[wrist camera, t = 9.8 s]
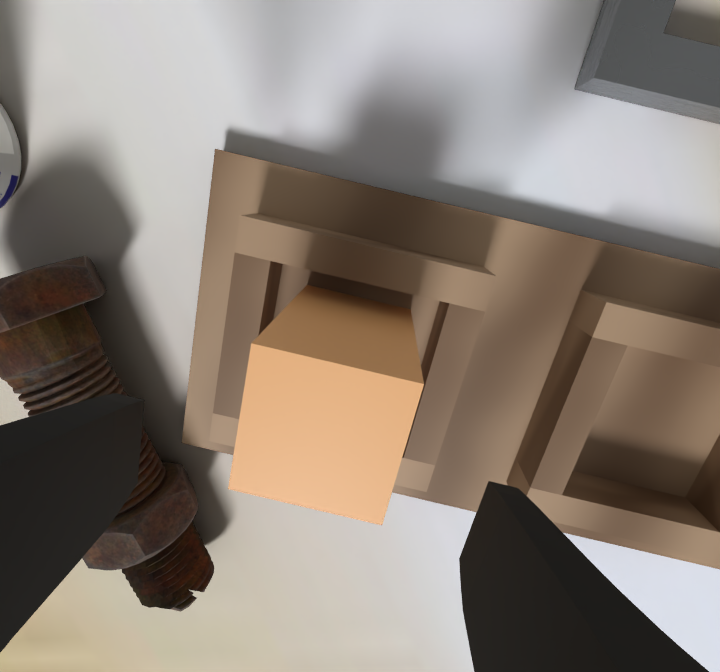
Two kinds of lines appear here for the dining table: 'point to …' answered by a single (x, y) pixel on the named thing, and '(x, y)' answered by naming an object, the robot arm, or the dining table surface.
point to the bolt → (90, 380)
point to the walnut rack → (487, 349)
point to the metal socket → (651, 62)
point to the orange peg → (328, 405)
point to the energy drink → (8, 158)
